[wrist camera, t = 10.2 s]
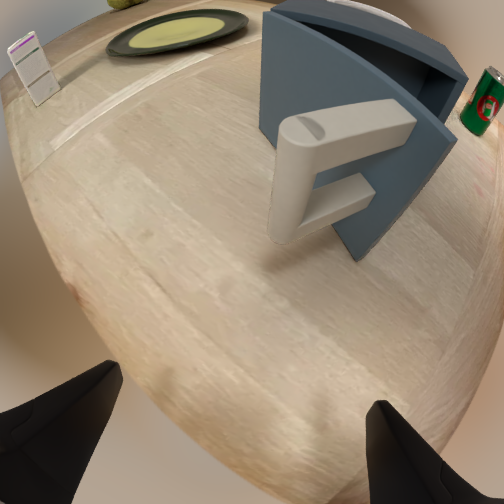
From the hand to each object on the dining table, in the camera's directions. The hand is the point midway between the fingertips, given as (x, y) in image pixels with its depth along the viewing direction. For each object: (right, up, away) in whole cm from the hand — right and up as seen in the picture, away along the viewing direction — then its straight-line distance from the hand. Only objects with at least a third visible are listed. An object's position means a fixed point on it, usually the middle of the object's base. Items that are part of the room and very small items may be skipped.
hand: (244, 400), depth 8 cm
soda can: (+36, +25, +21) cm, 48 cm away
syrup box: (-38, +34, +24) cm, 56 cm away
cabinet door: (+2, +9, +13) cm, 16 cm away
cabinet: (+10, +19, +18) cm, 28 cm away
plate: (-14, +47, +30) cm, 58 cm away
